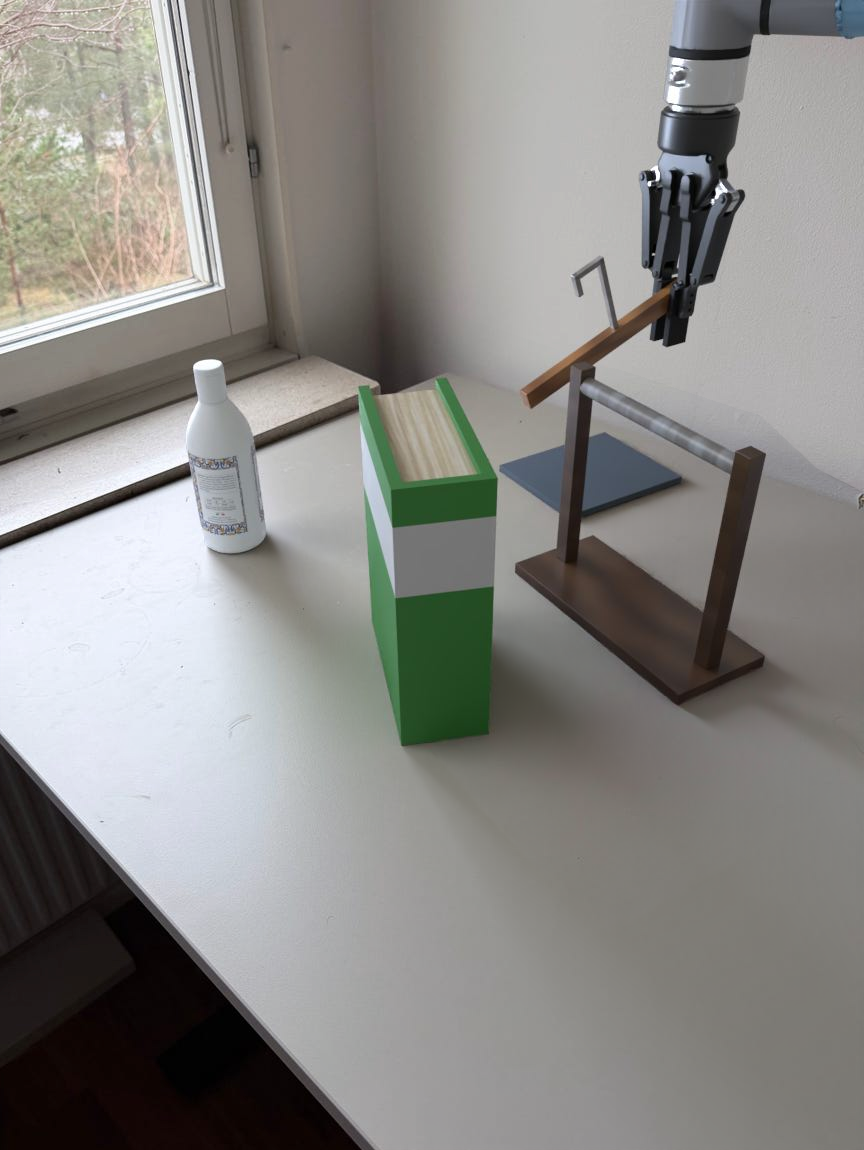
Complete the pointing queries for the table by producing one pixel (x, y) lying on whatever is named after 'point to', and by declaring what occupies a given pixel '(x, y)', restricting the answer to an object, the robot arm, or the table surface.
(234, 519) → the bath foam
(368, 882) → the table surface
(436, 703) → the hardback book
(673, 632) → the rail stand
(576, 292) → the hanger
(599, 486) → the mat
